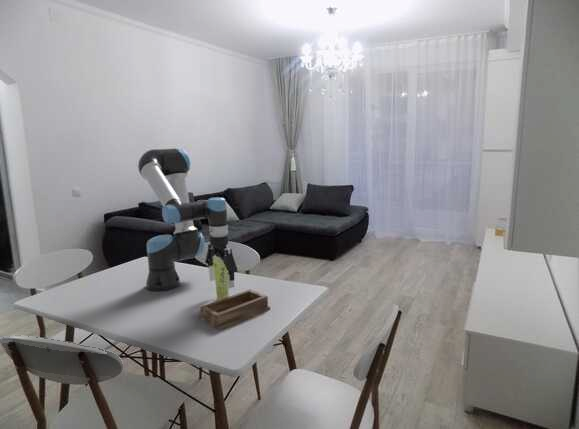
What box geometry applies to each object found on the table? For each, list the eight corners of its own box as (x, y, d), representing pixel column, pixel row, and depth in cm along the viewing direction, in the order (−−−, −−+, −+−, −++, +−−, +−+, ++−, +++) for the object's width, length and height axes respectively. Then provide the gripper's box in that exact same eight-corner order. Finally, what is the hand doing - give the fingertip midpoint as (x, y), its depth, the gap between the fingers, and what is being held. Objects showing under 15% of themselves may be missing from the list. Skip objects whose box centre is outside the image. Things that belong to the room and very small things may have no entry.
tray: (199, 318, 150) (198, 305, 149) (248, 299, 167) (247, 288, 166) (220, 330, 141) (219, 317, 140) (270, 309, 157) (269, 297, 156)
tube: (216, 302, 165) (213, 257, 161) (214, 297, 170) (212, 254, 166) (229, 300, 167) (227, 256, 163) (228, 295, 171) (225, 252, 168)
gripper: (195, 232, 169) (198, 279, 173) (229, 241, 152) (232, 293, 156) (209, 229, 174) (212, 274, 178) (244, 238, 157) (247, 288, 161)
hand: (221, 283), depth 167 cm, fingers open, 13 cm apart
